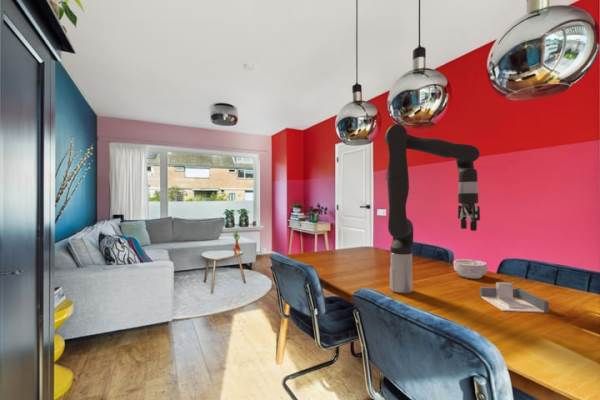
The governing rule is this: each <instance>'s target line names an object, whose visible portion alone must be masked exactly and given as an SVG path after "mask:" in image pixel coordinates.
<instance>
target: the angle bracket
mask: <svg viewBox="0 0 600 400" xmlns="http://www.w3.org/2000/svg"><path fill="white" fill-rule="evenodd" d="M495 287H496V300H497V301H499V302H500V303H502V304H504V305H505V306H507V307H509V308H524V305H523V304H521V303H519V302H517V301H515V300H513V288H514V286H513V283H511V282H505V281H504V282H501V281H500V282H499V281H497V282H495Z"/></svg>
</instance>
